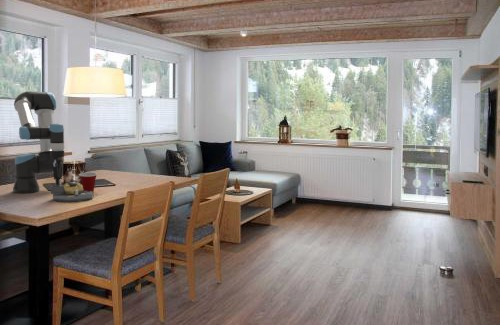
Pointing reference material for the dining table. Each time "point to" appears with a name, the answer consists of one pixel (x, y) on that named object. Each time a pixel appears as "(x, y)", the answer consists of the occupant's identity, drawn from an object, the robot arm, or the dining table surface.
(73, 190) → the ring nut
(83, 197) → the base plate
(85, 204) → the dining table surface
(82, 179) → the plastic cup
